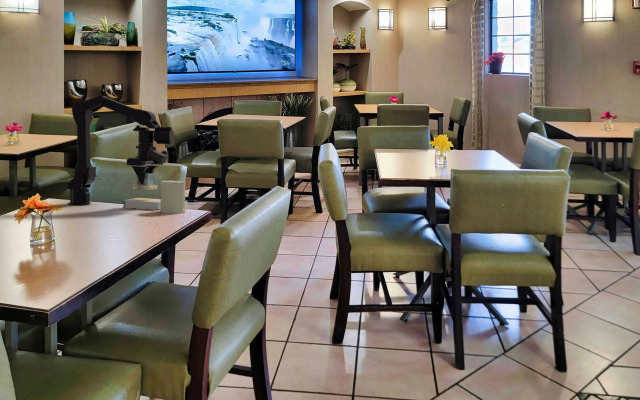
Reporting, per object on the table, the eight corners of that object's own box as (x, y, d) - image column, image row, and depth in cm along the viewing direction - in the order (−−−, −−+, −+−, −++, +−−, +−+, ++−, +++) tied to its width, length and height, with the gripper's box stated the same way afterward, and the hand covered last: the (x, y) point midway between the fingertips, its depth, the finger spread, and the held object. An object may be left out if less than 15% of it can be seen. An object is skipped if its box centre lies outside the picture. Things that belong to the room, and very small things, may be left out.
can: (188, 211, 227) (189, 180, 225) (180, 214, 217) (181, 181, 216) (165, 210, 227) (165, 178, 226) (156, 212, 218) (156, 180, 217)
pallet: (132, 188, 229) (133, 173, 229) (140, 187, 235) (141, 172, 235) (149, 189, 228) (149, 174, 227) (157, 188, 234) (157, 173, 233)
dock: (123, 207, 228) (123, 199, 228) (138, 205, 239) (138, 197, 239) (157, 210, 225) (157, 202, 225) (170, 207, 236) (170, 199, 236)
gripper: (153, 144, 219) (152, 186, 221) (175, 144, 237) (174, 183, 239) (126, 142, 221) (125, 184, 223) (150, 143, 240) (149, 181, 241)
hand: (145, 183), depth 231 cm, fingers closed on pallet, 4 cm apart
